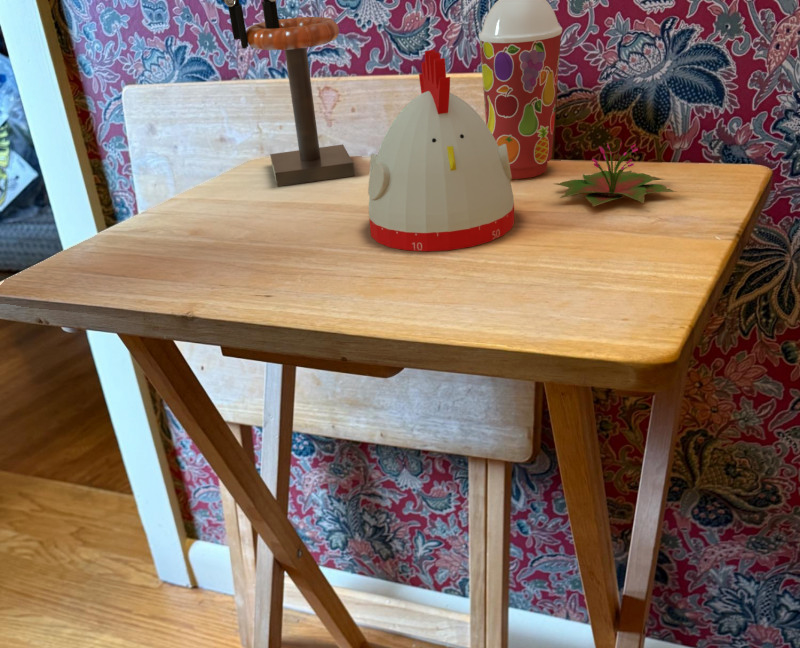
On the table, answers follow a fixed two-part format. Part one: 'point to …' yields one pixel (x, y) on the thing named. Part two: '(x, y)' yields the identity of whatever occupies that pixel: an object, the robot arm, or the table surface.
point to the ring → (293, 33)
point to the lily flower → (613, 182)
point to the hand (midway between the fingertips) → (258, 43)
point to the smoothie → (521, 81)
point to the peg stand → (307, 134)
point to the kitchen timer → (439, 173)
